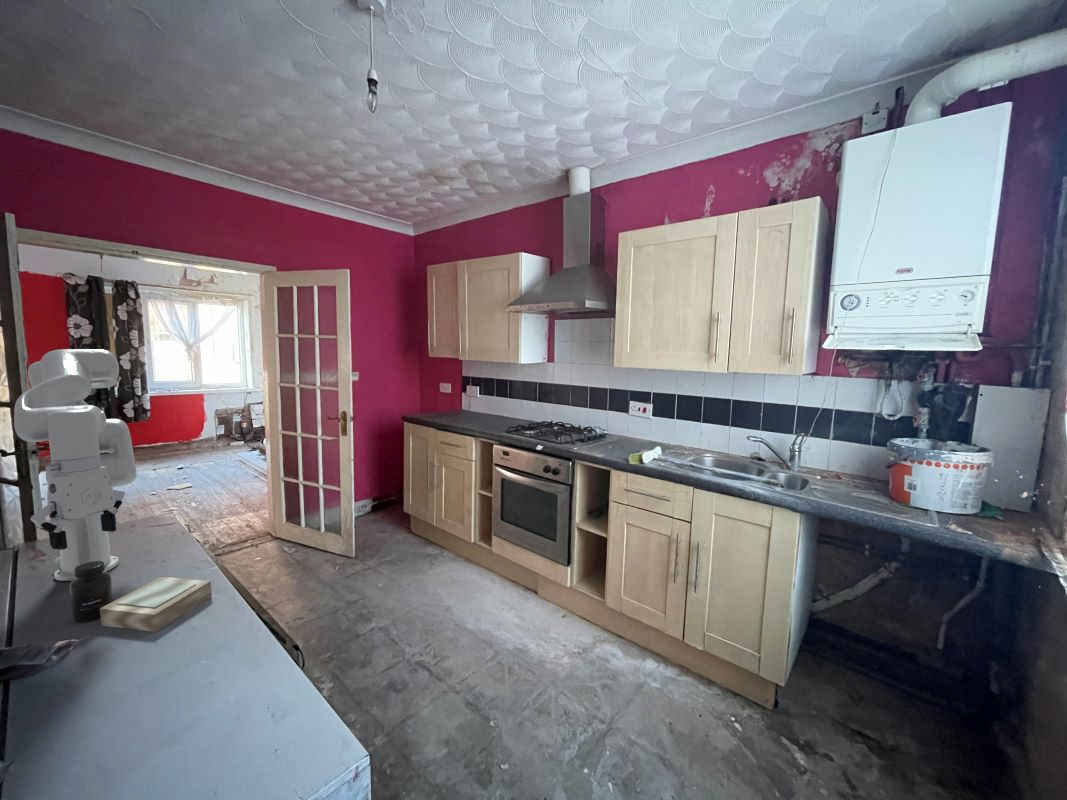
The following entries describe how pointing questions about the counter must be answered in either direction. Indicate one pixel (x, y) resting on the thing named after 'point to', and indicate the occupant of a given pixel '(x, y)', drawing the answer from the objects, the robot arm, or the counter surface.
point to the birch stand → (155, 604)
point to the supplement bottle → (90, 591)
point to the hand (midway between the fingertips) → (85, 539)
